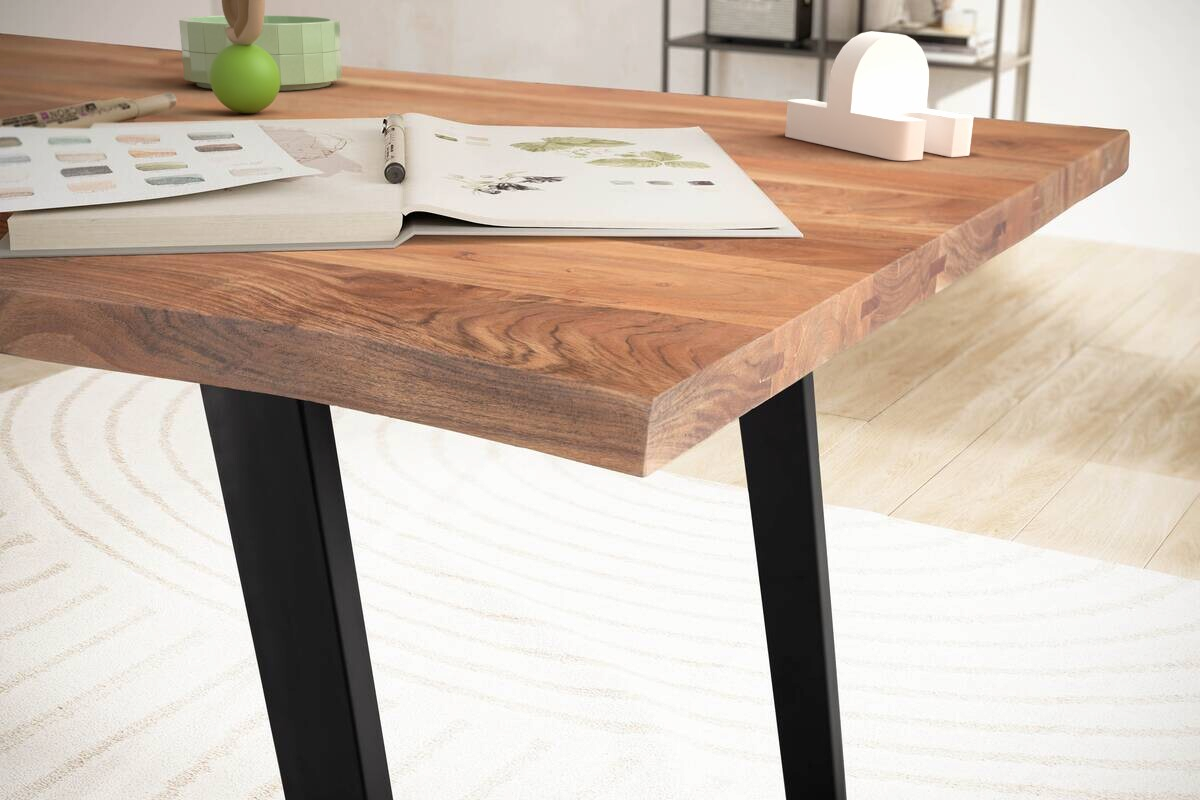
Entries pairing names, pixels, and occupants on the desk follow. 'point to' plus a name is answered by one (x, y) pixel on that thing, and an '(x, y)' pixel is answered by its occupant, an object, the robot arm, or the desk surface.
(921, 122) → the slotted bracket
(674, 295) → the desk surface
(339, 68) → the green round bowl
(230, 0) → the snail figurine
